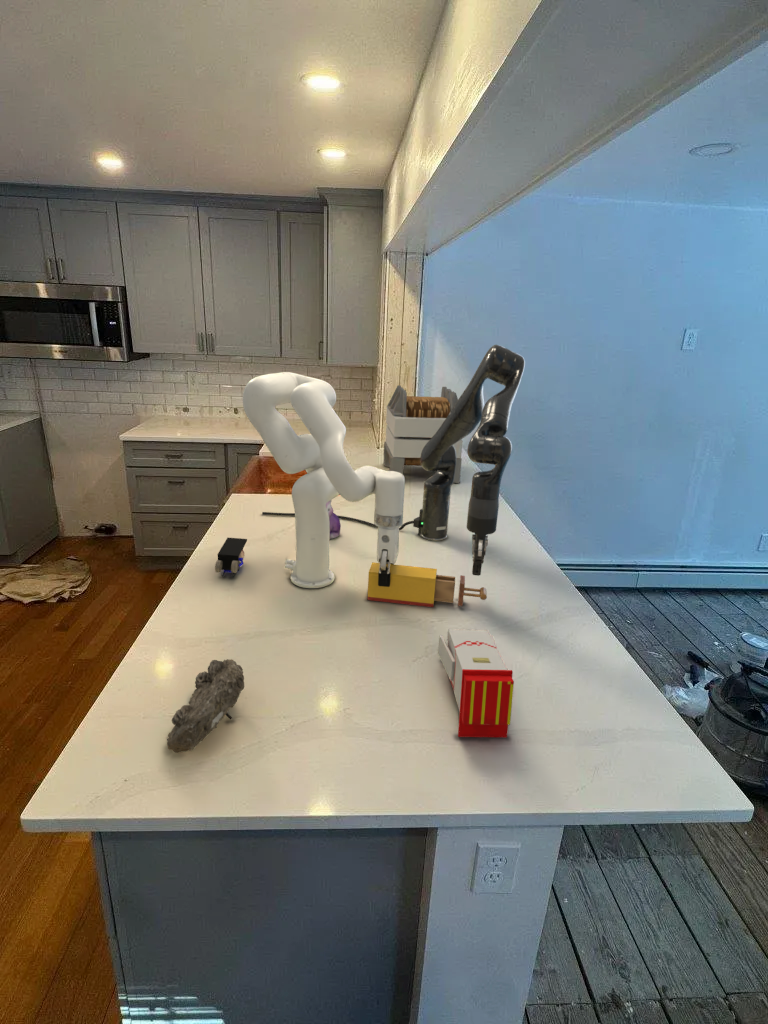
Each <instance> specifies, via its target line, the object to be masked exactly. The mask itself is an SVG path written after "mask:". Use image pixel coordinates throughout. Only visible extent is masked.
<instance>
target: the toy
mask: <svg viewBox="0 0 768 1024" xmlns="http://www.w3.org/2000/svg"><path fill="white" fill-rule="evenodd" d="M446 640H447V643H446V641H445V639H444V636H443V635H442V634H439V637H438V646H437V656H438V657H439V659H440V661H441V663H442V666H443V668H444V670H445V672H446V674H447V677H448V679H449V681H450V684H451V687H452V690H453V693H454V697H455V701H456V705H457V708H458V711H459V714H458V715H459V716H458V730H457V731H458V732H457V737H458V738H508V731H509V726H510V725H511V717H512V707H513V697H514V696H513V695H514V684H515V680H514V679H513V673H514V671H513V670H512V669H508V667H507V665H506V662H505V661H504V659H503V658H502V655H501V653H500V651H499V649H498V647H497V643H496V639H495V637H494V635H493V634H491V632H490V631H489V629H467V628H466V629H465V628H463V629H461V628H460V629H459V628H448V630H447V639H446Z"/></svg>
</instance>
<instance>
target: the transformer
mask: <svg viewBox="0 0 768 1024" xmlns="http://www.w3.org/2000/svg"><path fill="white" fill-rule="evenodd" d="M440 393H441V394H440V396H415V395H414V396H413V395H412V396H411V395H407V394H408V393H407V390H406V389H404V388H403V387H402V385H399V384H398V385H397V386H396V388H395V390H394V392H393V394H392V395H391V398H390V400H389V402H388V404H387V405H386V413H385V414H386V415H385V423H386V428H385V438H384V442H383V466H384V467H388V468H389V471H396V472H399V473H401V474H403V475H404V469H405V466H406V467H407V466H411V467H412V466H413V467H415V466H416V467H417V466H418V467H422V466H421V463H420V456H421V452H422V450H423V448H424V446H425V445H426V444H427V443H428V441H429V440H430V439H431V438H432V437H433V436H434V434H435V433H436V432H437V431H438V429H439V428H440V426H441V425H442V423H443V422H444V421H445V419H446V418H447V416H448V414H449V413H450V411H451V409H452V408H453V406H454V405H455V403H456V402H457V401H458V399H459V398H458V395H457V392H455V391H453V390H452V389H451V388H447V386H442V387H441V392H440ZM463 442H464V441H463V439H461V440H460V441H458V442H457V443H455V444H454V445H453V446H454V448H455V451H456V467H455V474H454V481H453V484H455V483H456V484H459V483H461V472H462V461H463V460H462V453H463Z"/></svg>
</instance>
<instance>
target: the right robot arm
mask: <svg viewBox="0 0 768 1024" xmlns="http://www.w3.org/2000/svg"><path fill="white" fill-rule="evenodd" d="M525 366H526V360H525V358H524V357H523V355H521V354H519V353H518V352H515V351H513V350H511V349H509V348H507V347H506V346H505V347H504V346H502V345H500V344H493V345H491V346H490V348H488V350H487V352H486V353H485V354H484V356H483V358H482V360H481V361H480V363H479V365H478V367H477V368H476V370H475V373H474V374H473V376H472V377H471V379H470V381H469V382H468V384H467V386H466V387H465V389H464V391H462V393H461V395H460V396H459V398H458V401H457V402H456V403H455V405H454V406H453V408H452V409H451V411H450V413H449V414H448V416H447V418H446V419H445V421H444V422H443V423H442V425H441V426H440V428H439V429H438V431H437V432H436V433H435V434H434V436H433V437H432V438H431V439H430V440H429V441H428V443H427V444H426V445H425V446H424V448H423V450H422V452H421V456H420V463H421V466H420V467H422V469H423V470H424V471H427V472H434V473H433V474H432V475H431V476H429V477H428V478H426V479H425V480H424V482H423V493H422V496H423V497H422V506H421V508H420V509H419V516H417V517H415V518H413V520H409V521H407V522H405V523H404V522H403V525H402V526H401V527H399V532H400V531H402V530H404V528H405V527H407V526H408V525H412V527H413V528H416V529H418V530H417V535H418V536H420V538H421V539H424V540H426V541H432V542H440V541H444V540H446V539H447V538H448V525H449V517H450V516H449V514H450V504H451V494H452V493H451V491H452V486H453V484H454V483H453V481H454V474H455V467H456V451H455V448H454V446H453V445H454V444H455V443H457V442H458V441H460V440H463V439H465V438H466V437H467V436H469V435H470V434H471V433H472V432H473V431H474V430H475V429H476V428H477V429H476V430H475V432H474V433H473V435H472V436H471V437H470V440H469V442H468V445H467V457H468V458H469V459H470V461H471V462H473V463H476V464H485V465H494V467H493V468H491V469H490V470H483V471H477V472H475V473H474V474H473V475H472V480H471V489H470V496H469V501H468V508H467V518H466V519H467V520H466V529H467V530H468V531H469V532H470V533H472V536H471V553H472V569H471V574H472V576H478V577H479V576H481V575H482V566H483V564H484V562H485V561H484V560H485V556H486V553H487V547H488V545H489V539H488V537H489V535H493V534H495V533H496V531H497V525H498V517H499V516H498V515H499V507H500V503H499V502H500V501H499V499H500V490H501V483H502V478H503V475H504V472H505V469H506V467H507V464H508V463H509V460H510V458H511V456H512V452H513V444H512V441H511V440H510V438H508V437H507V436H505V435H506V434H507V432H508V429H509V422H510V416H511V411H512V406H513V403H514V401H515V398H516V396H517V392H518V389H519V387H520V384H521V381H522V377H523V375H524V371H525V368H526V367H525ZM487 379H488V380H490V381H493V382H495V383H497V384H499V385H501V386H504V388H503V389H502V390H500V391H499V392H497V393H496V394H494V395H492V396H491V397H490V398H488V400H487V401H486V402H485V399H484V383H485V381H486V380H487ZM477 426H478V427H477ZM261 515H262V516H263V515H264V516H282V517H284V516H285V517H295V512H271V511H270V512H269V511H262V513H261ZM336 515H337V516H338V518H339V519H340V520H341V519H342V520H347V521H353V522H357V523H360V524H364V525H367V526H370V527H373V528H377V529H378V526H376V525H375V524H374V523H373V522H370V521H365V520H364V519H363V520H362V519H358V518H355V517H349V516H344V515H338V514H336Z"/></svg>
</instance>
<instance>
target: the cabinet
mask: <svg viewBox="0 0 768 1024" xmlns="http://www.w3.org/2000/svg"><path fill="white" fill-rule="evenodd" d="M379 566H380V563H379V562H376V561H375V562H374V561H373V562H371V563H370V568H369V569H368V578H367V579H368V580H367V598H366V599H367V601H374V602H382V603H391V604H398V605H399V604H401V605H410V606H418V607H428V608H434V603H435V601H434V594H435V582H436V575H438V574H437V571H438V569H437V568H431V567H422V566H415V565H413V566H411V565H402V564H390V573H391V577H390V587H384V586H378V572H379ZM386 567H387V568H388V564H386Z"/></svg>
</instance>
